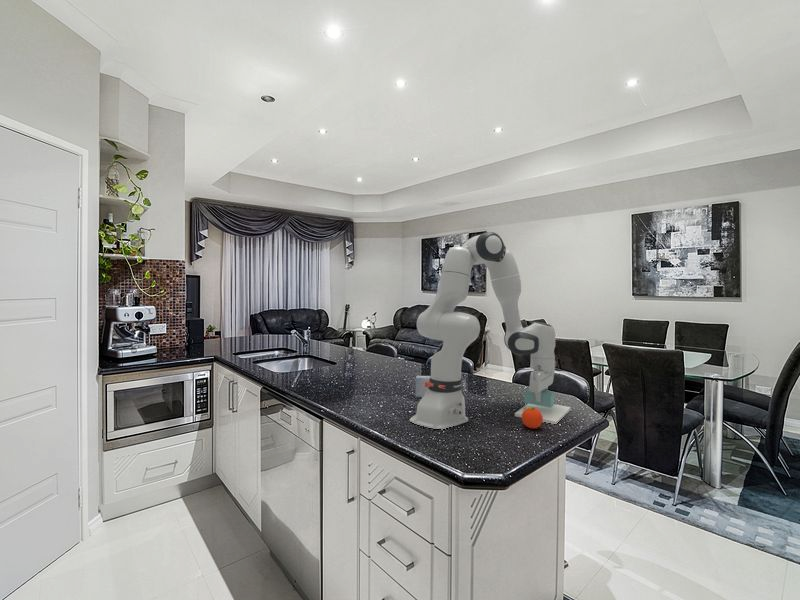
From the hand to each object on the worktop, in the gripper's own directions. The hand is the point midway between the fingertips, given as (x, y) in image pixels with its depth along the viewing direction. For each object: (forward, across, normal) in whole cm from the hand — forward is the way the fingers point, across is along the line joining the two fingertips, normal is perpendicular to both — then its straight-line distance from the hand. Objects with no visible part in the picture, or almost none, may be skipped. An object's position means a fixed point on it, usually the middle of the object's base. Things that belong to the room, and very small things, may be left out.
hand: (541, 399), depth 153 cm
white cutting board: (+5, 0, -1) cm, 5 cm away
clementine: (+5, -19, -2) cm, 20 cm away
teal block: (-1, 0, +6) cm, 6 cm away
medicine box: (+6, -10, +47) cm, 48 cm away
